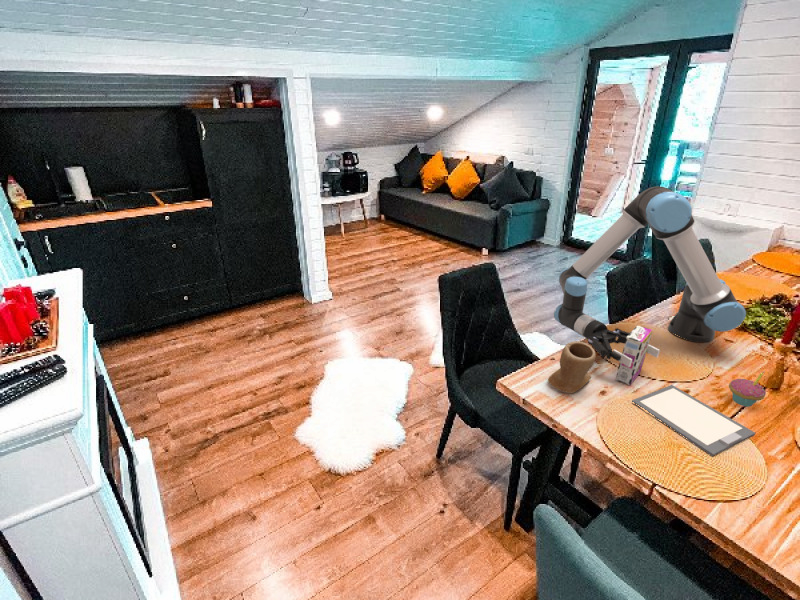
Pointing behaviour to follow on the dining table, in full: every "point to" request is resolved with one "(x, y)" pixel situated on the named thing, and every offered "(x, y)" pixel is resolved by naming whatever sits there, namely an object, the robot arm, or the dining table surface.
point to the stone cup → (573, 367)
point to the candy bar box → (634, 354)
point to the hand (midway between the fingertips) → (644, 358)
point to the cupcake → (747, 391)
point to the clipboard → (694, 419)
